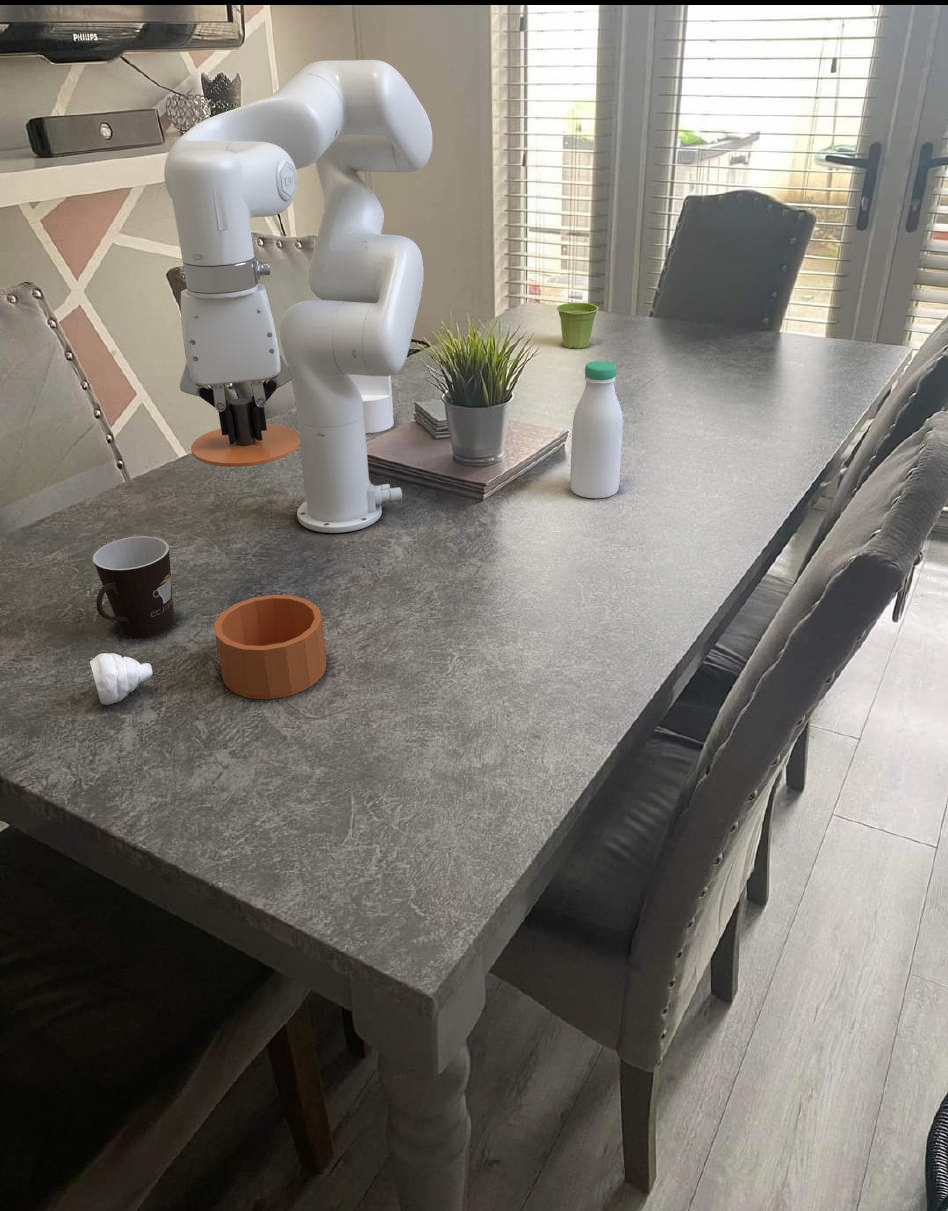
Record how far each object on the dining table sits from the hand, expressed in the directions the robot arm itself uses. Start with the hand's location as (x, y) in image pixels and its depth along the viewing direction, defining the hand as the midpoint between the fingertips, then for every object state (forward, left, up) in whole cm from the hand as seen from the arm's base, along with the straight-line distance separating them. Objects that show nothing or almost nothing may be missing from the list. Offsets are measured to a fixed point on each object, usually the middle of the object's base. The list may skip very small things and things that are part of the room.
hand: (245, 437), depth 113 cm
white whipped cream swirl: (+17, +17, -22) cm, 33 cm away
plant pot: (-81, -96, -22) cm, 128 cm away
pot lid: (0, 0, -1) cm, 1 cm away
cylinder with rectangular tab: (-25, -59, -22) cm, 68 cm away
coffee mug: (+16, +3, -22) cm, 27 cm away
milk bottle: (-53, -18, -22) cm, 60 cm away
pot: (+1, +17, -22) cm, 28 cm away
